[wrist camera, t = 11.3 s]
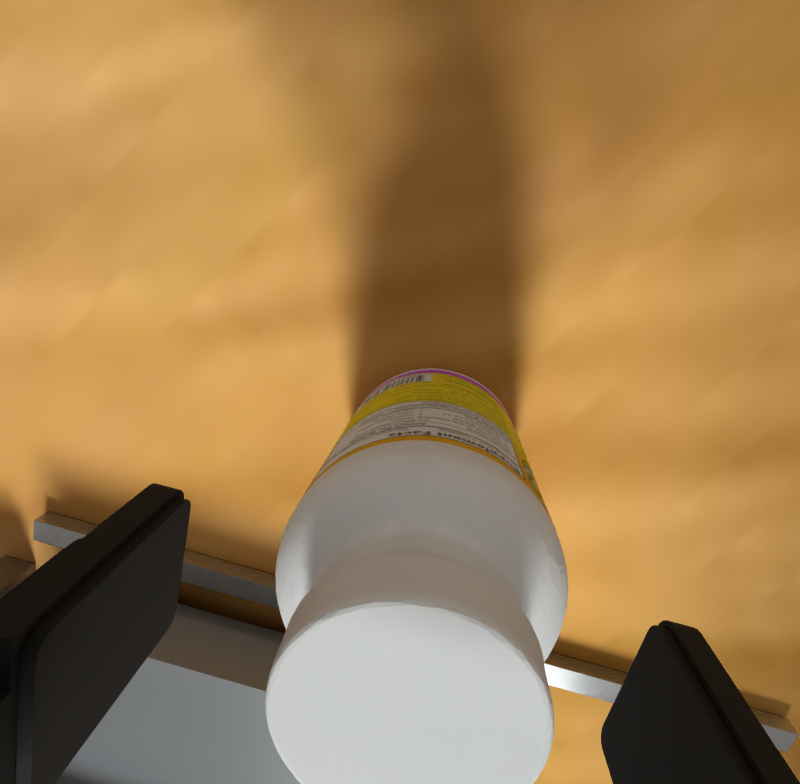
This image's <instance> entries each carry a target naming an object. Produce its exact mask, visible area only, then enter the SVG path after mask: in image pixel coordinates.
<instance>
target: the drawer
mask: <svg viewBox="0 0 800 784" xmlns="http://www.w3.org/2000/svg"><path fill="white" fill-rule="evenodd" d="M283 637H284V633H281V632H277V631H274V630H270V629H267V628H263V627H260V626H256V625H252V624H249V623H245V622H242V621H238V620H235V619H231V618H228V617H224V616H221V615H217V614H214V613H210V612H207V611H203V610H200V609H196V608H192V607H189V606H185V605H182V604H178V603H177V609H176V613H175V616H174V619H173V621H172V623H171V625H170V627H169V629H168V630H167V631H166V633H165V634H164V636H163V637H162V638H161V640H160V641H159V642H158V644H157V645H156V646H155V648H154V649H153V651H152V652H151V653H150V655H149V656H148V657H147V659H146V660H145V661H144V663H143V664H142V665H141V667H140V668H139V670H138V671H137V672H136V674H135V675H134V676H133V678H132V679H131V680H130V682H129V683H128V685H127V686H126V687H125V689H124V690H123V691H122V693H121V694H120V695H119V697H118V698H117V700H116V701H115V702H114V704H113V705H112V706H111V708H110V709H109V710H108V712H107V713H106V714H105V716H104V717H103V719H102V720H101V721H100V723H99V724H98V725H97V727H96V728H95V729H94V731H93V732H92V734H91V735H90V736H89V738H88V739H87V740H86V742H85V743H84V744H83V746H82V747H81V748H80V750H79V751H78V753H77V754H76V755H75V757H74V758H73V759H72V761H71V762H70V763H69V765H68V766H67V768H66V769H65V770H64V772H63V773H62V774H61V776H60V777H59V778H58V780H57V781H56V783H55V784H301V783H300V782H299V781H298V780H297V779H296V778H295V776H294V775H293V774H292V772H291V771H290V770H289V768H288V767H287V766H286V765H285V763H284V762H283V760H282V758H281V757H280V755H279V753H278V751H277V749H276V747H275V745H274V742H273V740H272V737H271V734H270V731H269V728H268V723H267V717H266V706H265V698H266V688H267V682H268V679H269V675H270V671H271V668H272V665H273V662H274V659H275V657H276V654H277V652H278V649H279V647H280V644H281V642H282V639H283Z"/></svg>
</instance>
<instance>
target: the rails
mask: <svg viewBox="0 0 800 784" xmlns="http://www.w3.org/2000/svg"><path fill="white" fill-rule="evenodd" d="M97 526H98V525H94V524H91V523H87V522H84V521H80V520H76V519H73V518H69V517H66V516H62V515H59V514H55V513H51V512H47V513H45V514H44V515H42V516H41V517H39V518H37V519H36V520H34V538H33V540H36V541H40V542H43V543H47V544H50V545H54V546H57V547H61V548H66V547H67V546H68V545H69V544H71V543H72V542H74V541H76V540H77V539H80V538H84V537H85V536H86V535H87V534H89V533H90V532H91V531H92V530H94V529H95V528H96V527H97ZM34 572H35V564H34V563H30V562H26V561H23V560H19V559H16V558H12V557H9V556H4V557H2V558H1V559H0V598H2V597H3V596H4V595H5V594H7V593H8V592H9V591H11V590H12V589H13V588H14V587H16V586H17V585H18V584H19V583H21V582H22V581H23V580H25V579H26V578H27V577H28V576H30V575H31V574H32V573H34ZM180 581H182V582H185V583H189V584H192V585H196V586H199V587H203V588H206V589H210V590H214V591H217V592H221V593H224V594H228V595H231V596H235V597H238V598H242V599H246V600H249V601H253V602H256V603H260V604H263V605H267V606H270V607H274V608H277V609H279V606H278V601H277V595H276V577H275V575H273V574H270V573H266V572H262V571H259V570H255V569H252V568H248V567H245V566H241V565H237V564H234V563H230V562H227V561H223V560H219V559H216V558H212V557H209V556H205V555H202V554H198V553H194V552H191V551H187V550H185V551H184V558H183V566H182V573H181V580H180ZM544 666H545V672H546V676H547V681H548V685H551V686H554V687H558V688H561V689H565V690H569V691H572V692H576V693H579V694H583V695H586V696H590V697H593V698H597V699H601V700H604V701H608V702H611V703H614V701H615V699H616V697H617V695H618V693H619V691H620V689H621V687H622V685H623V683H624V681H625V678H626V676H627V673H624V672H620V671H617V670H613V669H609V668H606V667H602V666H599V665H595V664H592V663H588V662H584V661H581V660H577V659H574V658H570V657H566V656H563V655H559V654H556V653H552V652H550V654H549V656H548V658H547V659H546V660H545V662H544ZM751 710H752V711H753V713H754V714H755V716H756V717H757V719H758V721H759V722H760V724H761V725H762V727H763V728H764V730H765V731H766V733H767V734H768V736H769V737H770V739H771V740H772V742H773V743H774V745H775V746H776V748H777V749H778V750H782V751H785V752H788V751H789V749H790V747H791V746H792V744H793V743H794V741H795V739H796V738H797V736H798V734H797V732H796V731H795V729H794V728H793V727H792V725H791V724H790V723H789V721H788V720H787V718H785V717H781V716H778V715H774V714H770V713H767V712H763V711H760V710H756V709H752V708H751Z"/></svg>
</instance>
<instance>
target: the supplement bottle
mask: <svg viewBox="0 0 800 784" xmlns="http://www.w3.org/2000/svg"><path fill="white" fill-rule="evenodd" d="M275 577H276V595H277V601H278V606H279V610H280V613H281V617H282V620H283V623H284V626H285V628H286V632H285V634H284V637H283V639H282V642H281V644H280V647H279V649H278V652H277V654H276V657H275V659H274V662H273V665H272V668H271V671H270V675H269V679H268V682H267V688H266V698H265V706H266V717H267V723H268V728H269V731H270V734H271V737H272V740H273V742H274V745H275V747H276V749H277V751H278V753H279V755H280V757H281V758H282V760H283V762H284V763H285V765H286V766H287V767H288V768H289V770H290V771H291V772H292V774H293V775H294V776H295V778H296V779H297V780H298V781H299V782H300V783H301V784H533V783H534V782H535V781H536V779H537V778H538V776H539V775H540V773H541V771H542V770H543V768H544V766H545V764H546V761H547V758H548V755H549V753H550V750H551V744H552V740H553V736H554V712H553V704H552V698H551V694H550V690H549V685H548V681H547V676H546V672H545V666H544V662H545V660H546V659H547V658H548V656H549V654H550V652H551V651H552V649H553V647H554V645H555V643H556V641H557V639H558V637H559V634H560V631H561V627H562V624H563V621H564V616H565V612H566V608H567V597H568V580H567V569H566V563H565V558H564V555H563V551H562V547H561V544H560V541H559V538H558V536H557V533H556V529H555V527H554V525H553V522H552V520H551V518H550V515H549V513H548V510H547V508H546V506H545V503H544V501H543V498H542V496H541V493H540V491H539V488H538V486H537V483H536V481H535V478H534V475H533V473H532V470H531V468H530V466H529V463H528V461H527V458H526V455H525V453H524V450H523V448H522V445H521V442H520V440H519V437H518V435H517V432H516V430H515V428H514V425H513V423H512V421H511V419H510V417H509V415H508V413H507V411H506V409H505V408H504V406H503V405H502V403H501V402H500V401H499V399H498V398H497V397H496V396H495V395H494V394H493V393H492V392H491V391H490V390H489V389H488V388H486V387H485V386H484V385H482V384H481V383H479V382H478V381H476V380H475V379H473V378H471V377H469V376H466V375H464V374H461V373H458V372H454V371H450V370H445V369H437V368H426V369H417V370H411V371H407V372H404V373H401V374H399V375H396V376H394V377H392V378H390V379H388V380H386V381H385V382H383V383H382V384H381V385H379V386H378V387H377V388H375V389H374V390H373V391H372V392H371V393H370V394H369V395H368V396H367V397H366V398H365V400H364V401H363V402H362V404H361V405H360V406H359V408H358V409H357V411H356V412H355V414H354V415H353V417H352V419H351V420H350V422H349V424H348V425H347V427H346V428H345V430H344V432H343V433H342V435H341V436H340V438H339V440H338V441H337V443H336V444H335V446H334V448H333V449H332V451H331V452H330V454H329V456H328V457H327V459H326V461H325V462H324V464H323V465H322V467H321V468H320V470H319V472H318V473H317V475H316V476H315V478H314V480H313V481H312V483H311V484H310V486H309V487H308V489H307V490H306V492H305V493H304V495H303V497H302V499H301V500H300V502H299V504H298V505H297V507H296V509H295V511H294V512H293V514H292V516H291V517H290V519H289V521H288V523H287V526H286V528H285V531H284V533H283V536H282V539H281V542H280V546H279V550H278V555H277V561H276V574H275Z"/></svg>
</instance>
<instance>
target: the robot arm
mask: <svg viewBox="0 0 800 784" xmlns="http://www.w3.org/2000/svg"><path fill="white" fill-rule="evenodd" d="M190 506H191V504H190V501H189V500H186V499H184V494H183V492H182V491H181V490H178V489H174V488H170V487H167V486H163V485H159V484H151V485H149V486H148V487H147V488H145V489H144V490H143V491H142V492H140V493H139V494H138V495H137V496H135V497H134V498H133V499H131V500H130V501H129V502H128V503H126V504H125V505H124V506H123V507H121V508H120V509H119V510H118V511H116V512H115V513H114V514H113V515H111V516H110V517H109V518H108V519H106V520H105V521H104V522H102V523H101V524H100V525H99V526H97V527H96V528H95V529H94V530H92V531H91V532H90V533H89V534H87V535H86V536H85V537H84V538H80V539H77V540H76V541H74V542H72V543H71V544H69V545H68V546H67V547H66V548H64V549H63V550H62V551H60V552H59V553H58V554H57V555H55V556H54V557H53V558H51V559H50V560H49V561H48V562H46V563H45V564H44V565H43V566H41V567H40V568H39V569H37V570H36V571H35V572H34V573H32V574H31V575H30V576H28V577H27V578H26V579H25V580H23V581H22V582H21V583H19V584H18V585H17V586H16V587H14V588H13V589H12V590H11V591H9V592H8V593H7V594H5V595H4V596H3V597H2V598H0V784H55V783H56V781H57V780H58V778H59V777H60V776H61V774H62V773H63V772H64V770H65V769H66V768H67V766H68V765H69V763H70V762H71V761H72V759H73V758H74V757H75V755H76V754H77V753H78V751H79V750H80V748H81V747H82V746H83V744H84V743H85V742H86V740H87V739H88V738H89V736H90V735H91V734H92V732H93V731H94V729H95V728H96V727H97V725H98V724H99V723H100V721H101V720H102V719H103V717H104V716H105V714H106V713H107V712H108V710H109V709H110V708H111V706H112V705H113V704H114V702H115V701H116V700H117V698H118V697H119V695H120V694H121V693H122V691H123V690H124V689H125V687H126V686H127V685H128V683H129V682H130V680H131V679H132V678H133V676H134V675H135V674H136V672H137V671H138V670H139V668H140V667H141V665H142V664H143V663H144V661H145V660H146V659H147V657H148V656H149V655H150V653H151V652H152V651H153V649H154V648H155V646H156V645H157V644H158V642H159V641H160V640H161V638H162V637H163V636H164V634H165V633H166V631H167V630H168V629H169V627H170V625H171V623H172V621H173V619H174V616H175V613H176V609H177V602H178V595H179V588H180V580H181V573H182V566H183V558H184V551H185V544H186V537H187V529H188V522H189V515H190ZM601 743H602V749H603V752H604V755H605V759H606V762H607V765H608V768H609V771H610V775H611V778H612V781H613V784H800V783H799V781H798V780H797V778H796V777H795V775H794V774H793V772H792V771H791V769H790V768H789V766H788V764H787V763H786V761H785V760H784V758H783V757H782V755H781V754H780V752H779V751H778V749H777V748H776V746H775V745H774V743H773V742H772V740H771V739H770V737H769V736H768V734H767V733H766V731H765V730H764V728H763V727H762V725H761V724H760V722H759V721H758V719H757V717H756V716H755V714H754V713H753V711H752V710H751V708H750V707H749V705H748V704H747V702H746V701H745V699H744V698H743V696H742V695H741V693H740V692H739V690H738V689H737V687H736V686H735V684H734V683H733V681H732V680H731V678H730V677H729V675H728V674H727V672H726V670H725V669H724V667H723V666H722V664H721V663H720V661H719V660H718V658H717V657H716V655H715V654H714V652H713V651H712V649H711V648H710V646H709V645H708V643H707V642H706V640H705V639H704V637H703V636H702V634H701V633H700V632H699V631H698V630H697V629H695V628H693V627H689V626H686V625H682V624H678V623H674V622H671V621H667V620H666V621H662V622H661V623H659V625H658V626H656V625H655V626H652V627H650V629H649V630H648V632H647V634H646V636H645V639H644V641H643V643H642V645H641V647H640V649H639V651H638V653H637V655H636V657H635V660H634V662H633V664H632V666H631V668H630V670H629V672H628V674H627V676H626V678H625V681H624V683H623V685H622V687H621V689H620V691H619V693H618V695H617V697H616V699H615V701H614V704H613V706H612V708H611V710H610V712H609V714H608V716H607V718H606V720H605V722H604V725H603V728H602V732H601Z"/></svg>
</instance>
